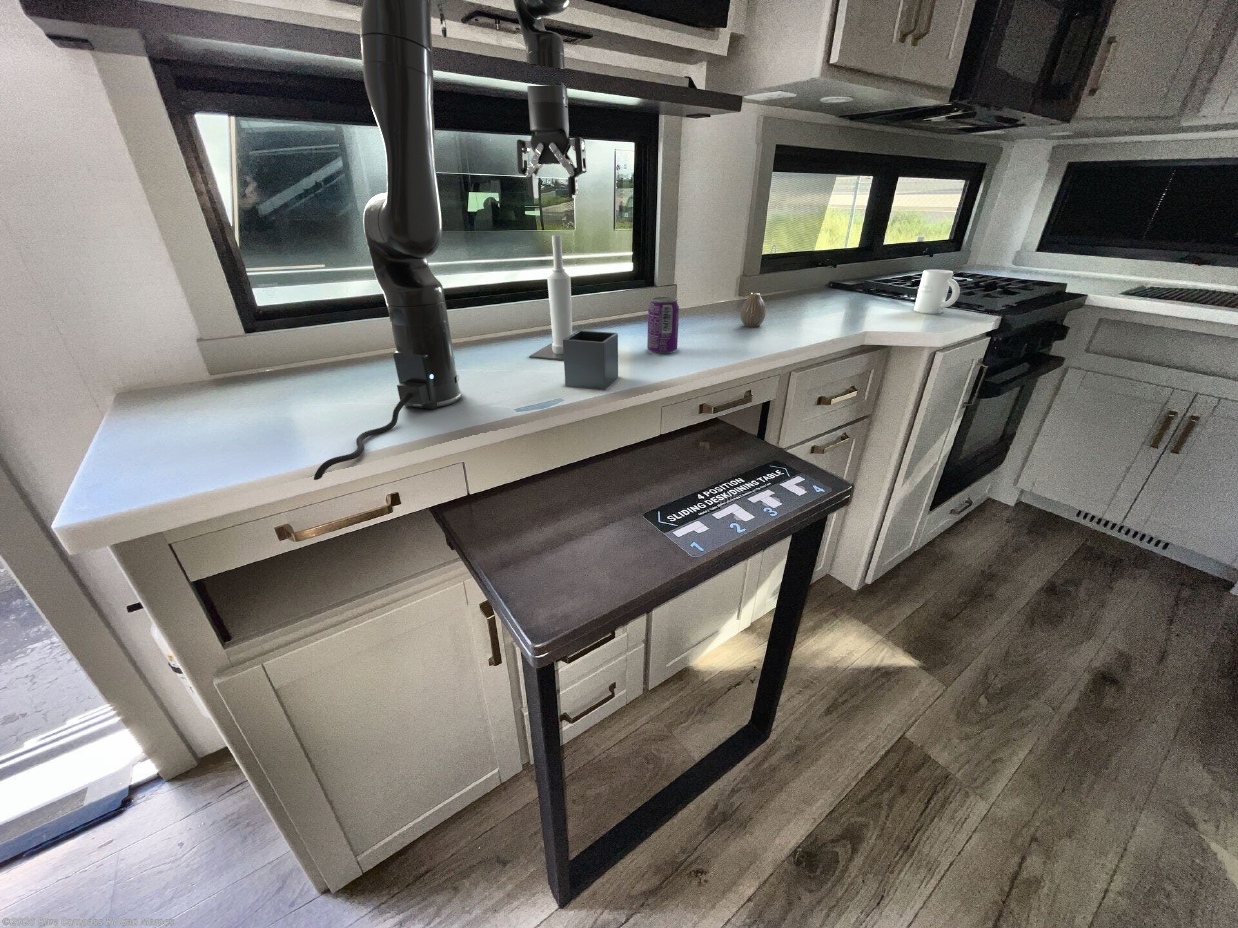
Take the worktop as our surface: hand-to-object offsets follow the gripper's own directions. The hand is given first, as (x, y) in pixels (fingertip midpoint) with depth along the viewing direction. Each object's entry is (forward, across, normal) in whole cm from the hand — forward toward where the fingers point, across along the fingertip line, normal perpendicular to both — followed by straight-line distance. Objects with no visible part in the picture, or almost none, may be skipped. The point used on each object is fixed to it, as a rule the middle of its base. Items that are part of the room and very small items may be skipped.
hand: (553, 198), depth 105 cm
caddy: (+32, +14, -18) cm, 40 cm away
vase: (+32, +40, +42) cm, 67 cm away
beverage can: (+33, +22, +8) cm, 40 cm away
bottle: (+32, 0, 0) cm, 32 cm away
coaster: (+32, 0, 0) cm, 33 cm away
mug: (+32, +93, +77) cm, 125 cm away
